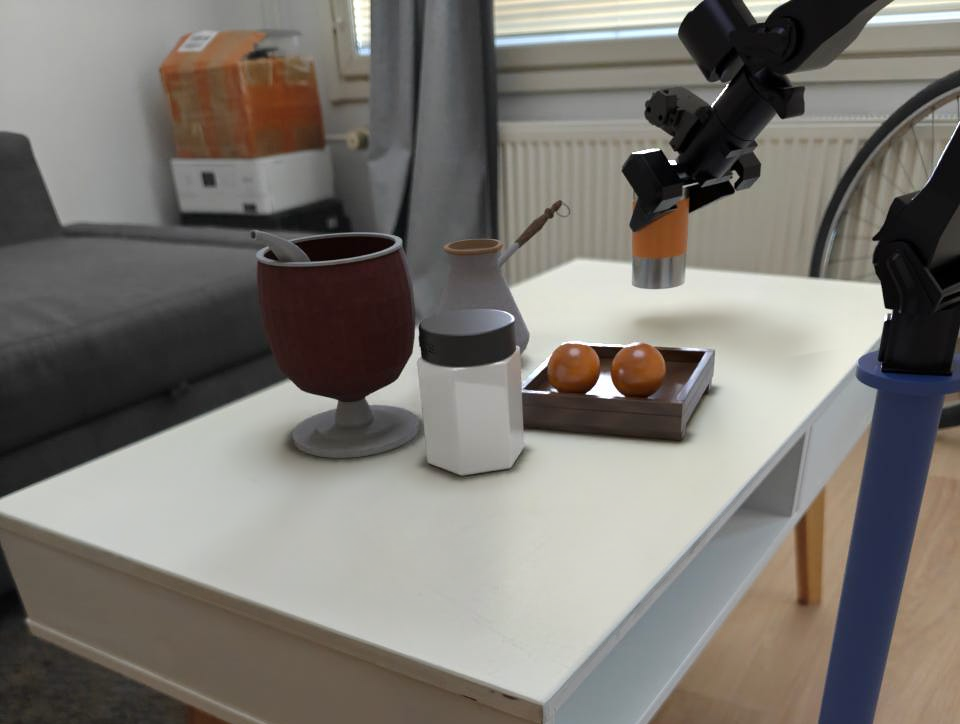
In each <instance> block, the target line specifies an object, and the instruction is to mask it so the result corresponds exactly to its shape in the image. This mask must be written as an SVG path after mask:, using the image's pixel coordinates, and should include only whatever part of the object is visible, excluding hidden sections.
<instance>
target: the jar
mask: <svg viewBox="0 0 960 724" xmlns="http://www.w3.org/2000/svg"><path fill="white" fill-rule="evenodd" d="M417 330H418V337H417V338H418V346H419V348H420V357H419V358H418V359H417V360H416V364H417V376H418V384H419V392H420V393H419V394H420V403H421V413H422V422H423V431H424V433H423V434H424V439H425V440H424V441H425V450H426V452H425V453H426V461H427V463H428V464H430V465H432V466H435V467H438V468H441V469H443V470H445V471H448V472H450V473H453V474H456V475H458V476H461V477H462V476H463V477H464V476H469V475H475V474H482V473H488V472H489V473H490V472H496V471H500V470H501V471H502V470H508V469H511V468H512V467H513V465H514V464H515V462H516V460H517V459H518V457H519V456H520V454H521V453H522V451H523V450H524V448H525V441H524V440H525V438H524V437H525V436H524V427H523V409H522V385H521V383H522V363H521V355H520V347H519V346H516V330H515V319H514V317H513V316H512V315H510V314H508V313H506V312H503V311H498V310H490V309H466V310H456V311H450V312H445V313H440V314H437V313H436V314H433V315H431V316H428V317H426V318H424V319H423V320H422V321H421V322H419V324H418V329H417Z"/></svg>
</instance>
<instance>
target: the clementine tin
mask: <svg viewBox="0 0 960 724" xmlns="http://www.w3.org/2000/svg"><path fill="white" fill-rule="evenodd" d="M669 162H670V163H671V165H675V164H676V163H675V160H669ZM689 188H690V186H688V187H683V193H682V197H681V198H680V199H679V200H678V202H677V203H676V205H677V207H678V208H677V209H676V210H674V211H673V212H671V213H669V214H667V215H665V216H664V217H662V218H660V219H658V220H657V221H655V222H653V223H651V224H650V225H648V226H646V227H644V228H642V229H640V230H639V231H637V232H633V231H632V230H631V286H633V287H635V288H638V289H643V290H666V289H673V288H678V287H681V286H682V285H684V284H685V282H686V269H687V267H686V265H687V252H688V238H689V237H688V236H689V235H688V234H689V218H690V217H689V215H690V214H689ZM632 190H633V189H632ZM632 193H633V194H632V195H633V196H632V197H633V198H632V212H633V211H634V208H635V205H636V202H637V199H638V196H637V194H636V193H635V191H634V190H633V192H632Z"/></svg>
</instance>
